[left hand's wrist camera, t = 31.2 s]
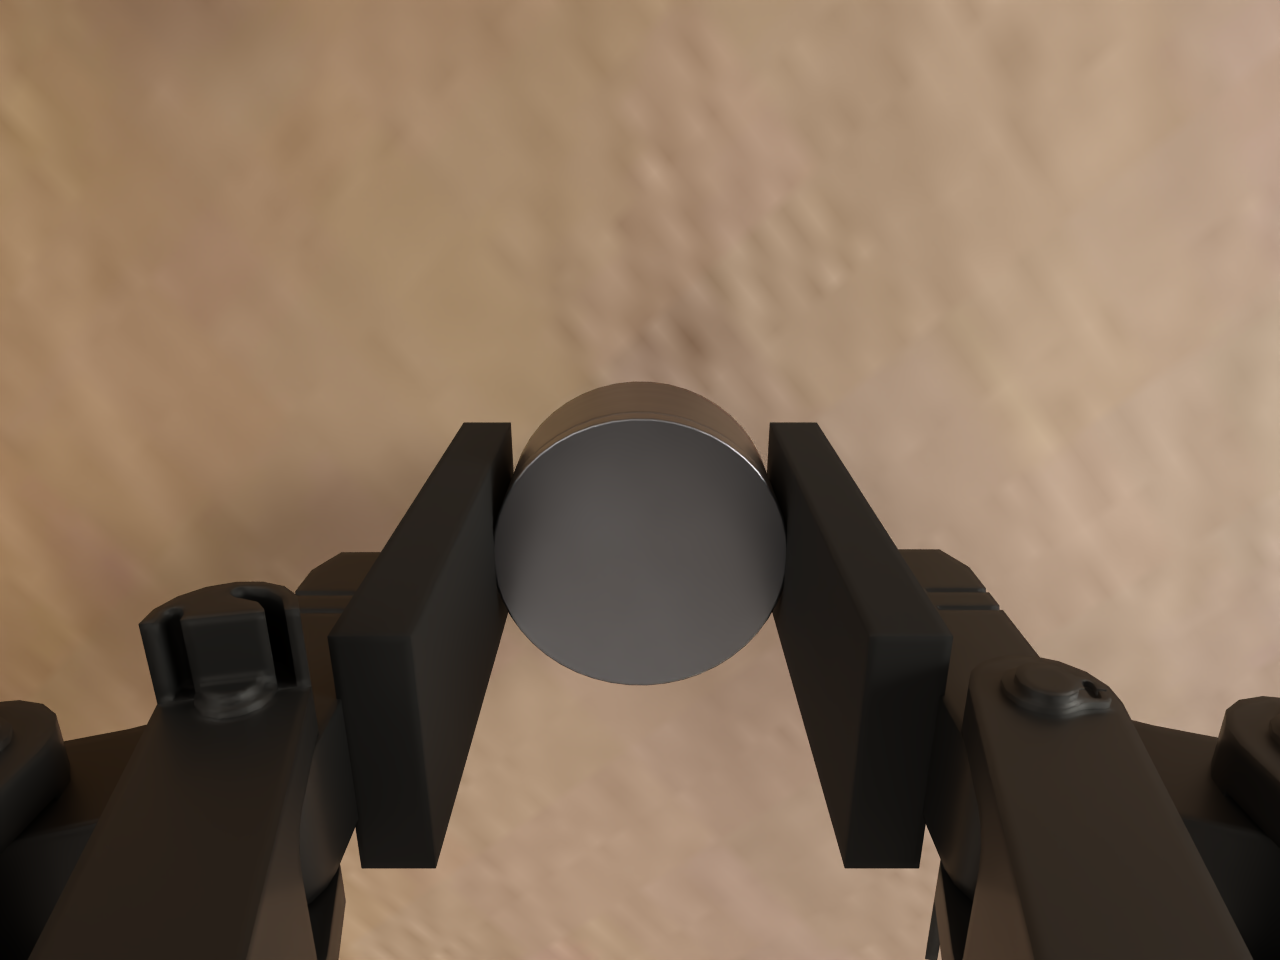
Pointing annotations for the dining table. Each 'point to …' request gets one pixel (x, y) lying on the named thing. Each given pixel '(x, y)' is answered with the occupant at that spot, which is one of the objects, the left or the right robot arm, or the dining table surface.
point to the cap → (640, 536)
